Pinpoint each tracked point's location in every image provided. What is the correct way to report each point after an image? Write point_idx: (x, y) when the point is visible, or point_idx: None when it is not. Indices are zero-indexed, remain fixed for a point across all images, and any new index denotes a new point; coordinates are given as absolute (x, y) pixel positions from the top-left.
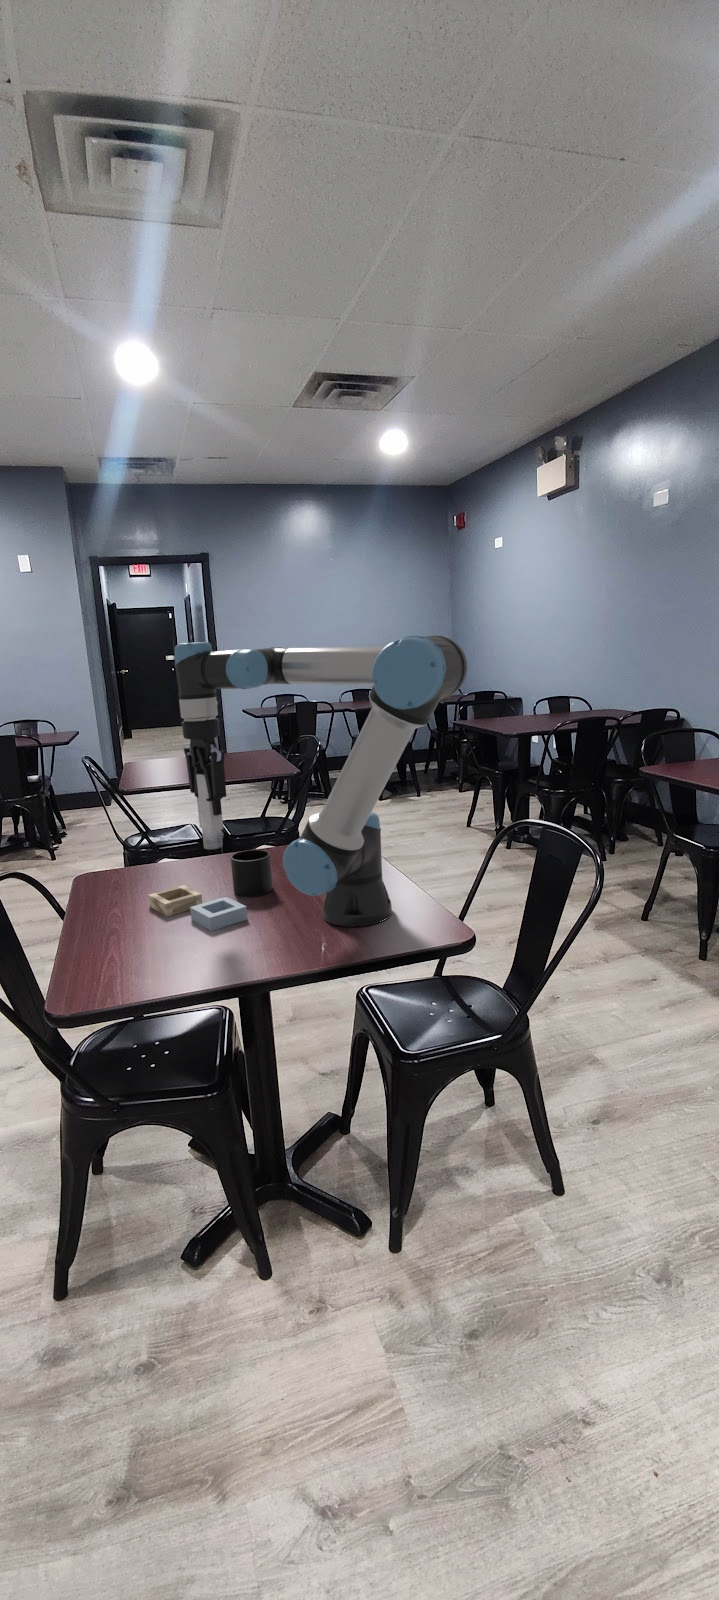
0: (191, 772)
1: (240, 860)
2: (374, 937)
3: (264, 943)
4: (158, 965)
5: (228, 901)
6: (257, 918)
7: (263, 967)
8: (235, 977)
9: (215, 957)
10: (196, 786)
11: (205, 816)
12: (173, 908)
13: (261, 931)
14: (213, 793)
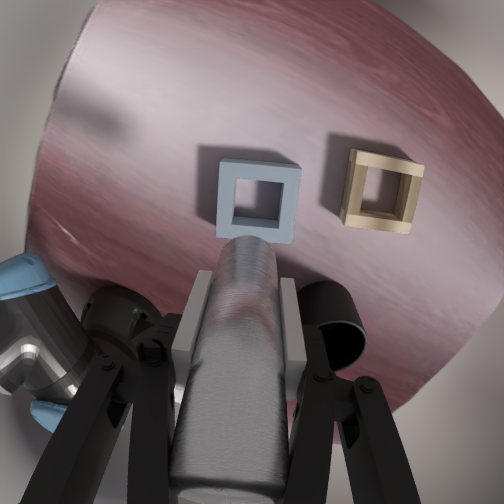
0: (375, 477)
1: (359, 336)
2: (62, 286)
3: (119, 188)
4: (170, 36)
5: (264, 231)
6: (210, 239)
7: (64, 146)
8: (65, 106)
9: (128, 110)
10: (308, 412)
11: (220, 297)
12: (351, 164)
13: (159, 211)
14: (111, 375)
